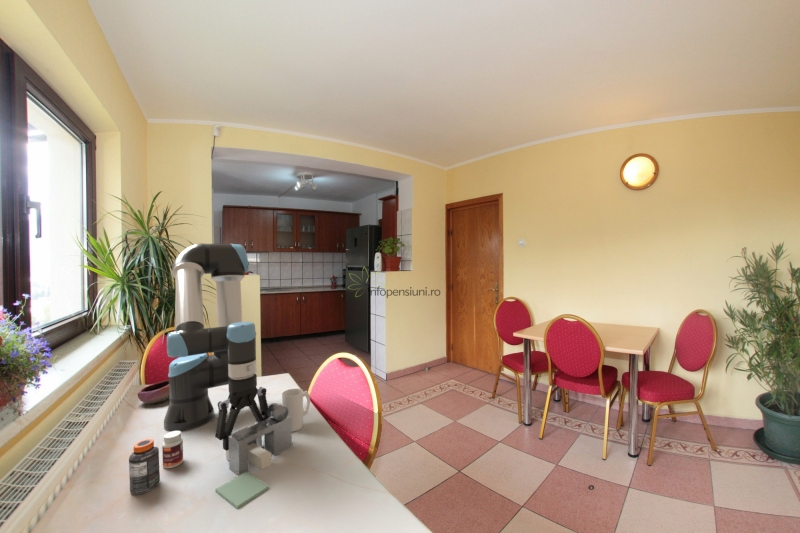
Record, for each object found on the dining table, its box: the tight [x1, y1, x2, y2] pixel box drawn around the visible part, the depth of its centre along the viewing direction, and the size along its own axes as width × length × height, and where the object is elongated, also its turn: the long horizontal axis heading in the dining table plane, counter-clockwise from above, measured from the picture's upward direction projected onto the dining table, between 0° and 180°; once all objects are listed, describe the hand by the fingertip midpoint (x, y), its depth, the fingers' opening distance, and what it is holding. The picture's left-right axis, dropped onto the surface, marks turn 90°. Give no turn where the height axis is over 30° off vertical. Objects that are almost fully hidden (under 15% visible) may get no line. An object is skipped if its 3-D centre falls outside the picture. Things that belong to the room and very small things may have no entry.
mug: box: [281, 388, 311, 432], centre depth 111 cm, size 10×7×12 cm, turn 139°
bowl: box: [137, 379, 170, 404], centre depth 135 cm, size 16×13×8 cm
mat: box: [215, 471, 270, 510], centre depth 79 cm, size 10×8×1 cm
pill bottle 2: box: [161, 431, 184, 469], centre depth 91 cm, size 5×5×8 cm
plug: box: [231, 426, 272, 470], centre depth 93 cm, size 15×5×6 cm, turn 55°
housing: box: [228, 402, 293, 476], centre depth 93 cm, size 5×16×13 cm, turn 145°
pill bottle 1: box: [128, 438, 161, 495], centre depth 81 cm, size 6×6×11 cm
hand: (244, 451), depth 95 cm, fingers open, 8 cm apart
